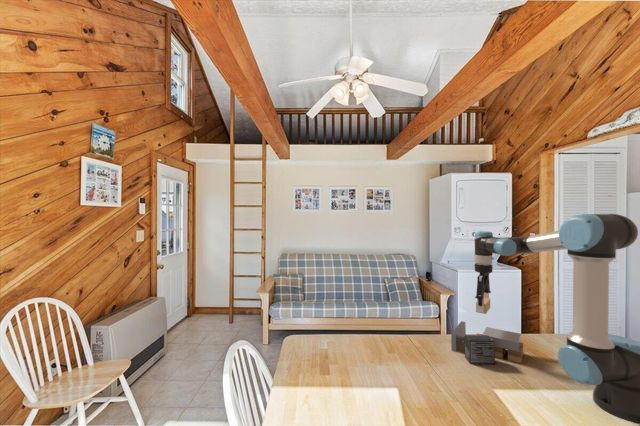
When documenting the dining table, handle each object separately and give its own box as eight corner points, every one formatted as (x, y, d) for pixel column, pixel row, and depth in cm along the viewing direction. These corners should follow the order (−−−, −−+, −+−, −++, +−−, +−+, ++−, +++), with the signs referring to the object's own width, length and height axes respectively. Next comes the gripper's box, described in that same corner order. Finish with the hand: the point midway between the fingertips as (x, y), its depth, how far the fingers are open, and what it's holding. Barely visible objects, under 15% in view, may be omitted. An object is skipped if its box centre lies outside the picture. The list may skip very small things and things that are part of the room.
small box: (488, 357, 137) (488, 334, 137) (495, 365, 130) (495, 340, 130) (464, 357, 138) (464, 333, 138) (469, 364, 131) (469, 339, 131)
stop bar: (455, 351, 143) (455, 334, 143) (451, 350, 145) (451, 333, 145) (465, 337, 159) (465, 322, 159) (461, 336, 160) (461, 321, 160)
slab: (518, 351, 132) (518, 342, 132) (482, 343, 140) (482, 334, 140) (520, 342, 141) (520, 333, 141) (486, 335, 150) (486, 326, 150)
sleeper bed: (521, 363, 131) (521, 351, 131) (472, 351, 143) (472, 340, 143) (523, 353, 140) (523, 343, 140) (477, 343, 152) (477, 333, 152)
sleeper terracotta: (485, 314, 140) (485, 304, 140) (476, 312, 143) (476, 302, 143) (490, 307, 149) (490, 298, 149) (481, 306, 151) (481, 297, 151)
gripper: (487, 268, 134) (487, 317, 134) (496, 261, 152) (496, 304, 152) (468, 266, 139) (468, 314, 139) (480, 259, 157) (479, 301, 157)
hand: (483, 309), depth 146 cm, fingers closed on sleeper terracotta, 11 cm apart
